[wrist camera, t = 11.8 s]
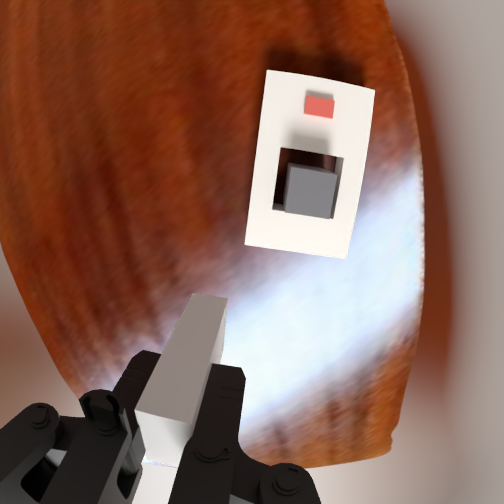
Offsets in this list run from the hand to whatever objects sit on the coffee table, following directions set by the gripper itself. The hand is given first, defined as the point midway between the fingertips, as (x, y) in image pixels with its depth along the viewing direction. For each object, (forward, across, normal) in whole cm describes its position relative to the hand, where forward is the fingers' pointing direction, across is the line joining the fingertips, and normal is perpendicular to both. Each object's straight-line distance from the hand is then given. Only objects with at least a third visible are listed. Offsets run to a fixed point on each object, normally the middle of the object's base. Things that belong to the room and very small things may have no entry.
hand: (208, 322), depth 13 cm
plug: (+26, +6, +3) cm, 27 cm away
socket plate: (+26, +6, +6) cm, 28 cm away
